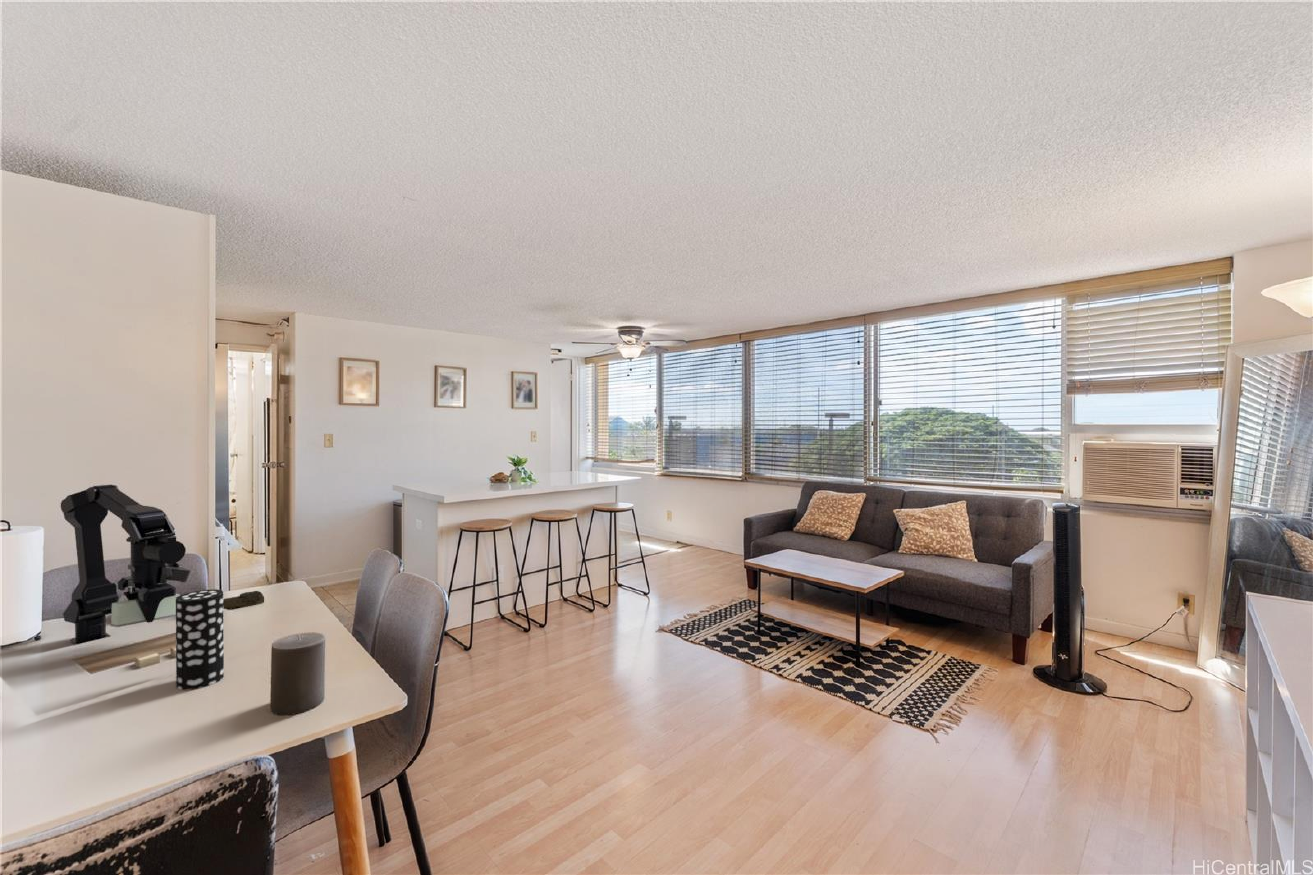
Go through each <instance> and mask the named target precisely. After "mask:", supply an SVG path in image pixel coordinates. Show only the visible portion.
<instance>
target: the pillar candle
mask: <svg viewBox="0 0 1313 875" xmlns="http://www.w3.org/2000/svg"><path fill="white" fill-rule="evenodd" d="M270 651H271V652H270V653H271V657H270V658H271V659H270V692H269V694H270V696H269V697H270V700H269V704H270V705H269V709H270V712H271V713H273V714H274V715H278V716H292V715H297V714H300V713H304V712H308V711H310V710H312V709H314V708H317V707H318V706H320V705H321V704H322V703H323V702H324V701H325V692H326V691H325V690H326V688H325V686H326V684H325V682H326V681H325V680H326V678H325V676H326V634H325V633H323V632H321V633H320V632H315V631H311V632H310V631H309V632H299V633H291V634H289V635H286V636H283V637H280V638H278V639H275V640H274V641H273V642H272V643H271V650H270Z"/></svg>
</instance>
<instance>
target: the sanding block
mask: <svg viewBox="0 0 1313 875" xmlns="http://www.w3.org/2000/svg"><path fill="white" fill-rule="evenodd" d="M180 595H181V594H179V593H176V595H175V596H171V597H167V598H164V599H163V600H162V601H161V602H160V604H159V606H158V609H157V612H156V615H155V618H154V620H153V621H159V620H164V619H169V618H174V617H175V618H176V597H178V596H180ZM110 623H111V624H110V626H111V627H114V628H120V627H125V626H132V625H137V624H141V623H147V621H146V620H145V618H144V616H143V614H142V612H141V610H140V608H139V606H138V604H137V603H136V601H135V600H130V601H123V602H117V603H112V614H111V622H110Z"/></svg>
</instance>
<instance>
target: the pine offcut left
mask: <svg viewBox="0 0 1313 875" xmlns="http://www.w3.org/2000/svg"><path fill="white" fill-rule="evenodd" d="M160 663H161V657H160V655H159V654H157V653H155V652H151V653H148V654H144V655H140V656H137V657H135V662H134V666H136V667H137V668H139V669H143V668H144V669H145V668H147V667H150V666H154V665H157V664H160Z"/></svg>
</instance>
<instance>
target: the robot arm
mask: <svg viewBox="0 0 1313 875" xmlns="http://www.w3.org/2000/svg"><path fill="white" fill-rule="evenodd" d="M60 510H61V512H62V513H63V517H64V520H65V521H66V522H67V523H68V524H70V526H72V527H73V528H74V536H75V545H76V546H75V547H76V557H77V567H78V579H79V582H78V584H77V585H76V586H75V588H74V589H73V591H72V593H71V601H70V603H69V604H68V605H67V607H66V609H64V612H62V616H63V620H64V622H66V623H71V624H74V632H75V633H74V637H73V638H70V640H69V641H70V642H71V643H72V644H74V645H75V646H77V645H81V644H85V643H89V642H93V641H96V640H101V639H106V638H110V637H111V635H110V634H109V633H108V632H107V623H106V622H107V621H106V620H107V618H106V616H108V615H112V603H117V602H118V600H119V598H120V597H119V594H118V592H117V591H118V590H119V591H121V592H122V591H125V590H126V588H127V591H125V592H123V593H122V594H123V595H125V596H126V598H127V599H128V601H130V600H135V601H136V603H137V604H138V606H139V608H140V610H141V612H142V614H143V616H144V618H145V620H146V621H147V622H146V623H148V624H149V623H150V624H151V623H153V622H154V621H155V620H154V618H155V615H156V612H157V609H158V606H159V604H160V602H161V601H162V600H163V599H164V598H167V597H171V596H175V595H176V594H177V589H176V588H177V587H175V586H173V585H171V584H169V583H168V581H174V582H180V583H186V582H187V580H188V579H189V576H190V573H191V572H192V571H191V569H188V568H185V567H182V566H181V567H180V564H179V562H180V561H181V560H182V559H183V558H184V557H185V554H186V547H185V545H184V543H183V542H181V541H178V540H177V536H176V532H175V527H174V526H173V524H172V522H171V521H170V520H169V517H168V515H167V514H166V513H165V511H164V510H162V509H160V508H157V507H156V506H155V507H154V506H151V505H150V506H149V505H143V504H141V503H139V502H138V501H136V500H134V499H133V498H132V497H130V496H128V495H127V494H126V493H125V492H123V491H121V490H120V489H119V487H118V486H117V485H114V484H102V485H93V486H89V487H88V488H87V489H84V490H82V491H79V492H75V493H71V494H68V495H67V496H66V497H65V498H64V499H62V500H61V501H60ZM109 512H110V513H111V514H113V515H115V516H116V517H118V519H120V521H121V525H120V527H121V529H123V530H124V531H125V533H126V534H127V535H128V536H127V538H126V539H125V541H126V542H128V543H130V564H127V569H128V570H130V576H125V577H122V578H121V579H120V580H118V581H117V584H116V583H115V582H111V581H110V580H109V579H107V576H106V568H105V560H104V557H105V556H104V549H103V548H104V546H103V539H102V538H103V537H102V526H101V525H102V523H104V520H105V519H106V517H107V516H108V515H109V514H108V513H109Z"/></svg>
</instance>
